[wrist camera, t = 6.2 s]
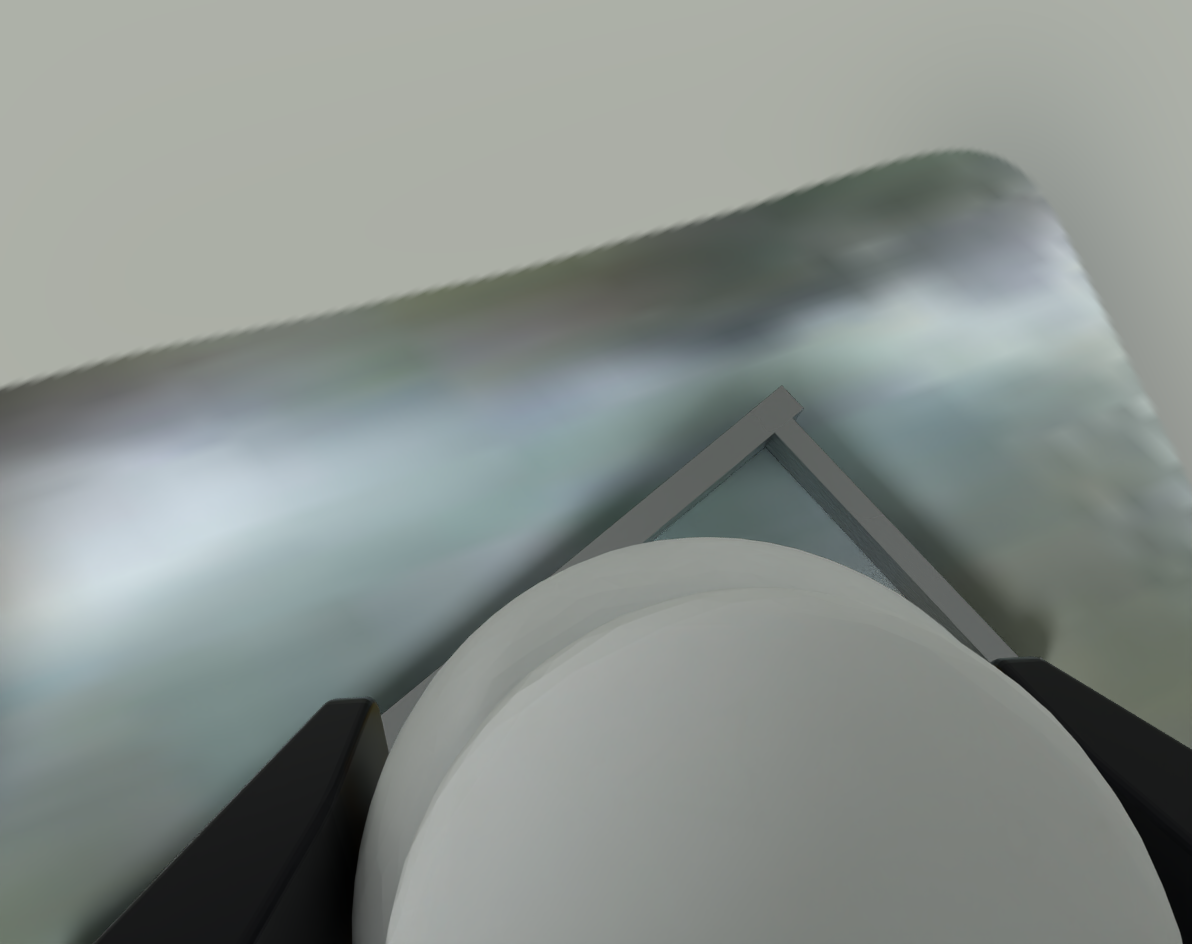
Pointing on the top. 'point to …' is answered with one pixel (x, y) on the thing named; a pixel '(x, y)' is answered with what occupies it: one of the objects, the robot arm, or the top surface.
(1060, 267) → the top surface
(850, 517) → the rack
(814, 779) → the supplement bottle
